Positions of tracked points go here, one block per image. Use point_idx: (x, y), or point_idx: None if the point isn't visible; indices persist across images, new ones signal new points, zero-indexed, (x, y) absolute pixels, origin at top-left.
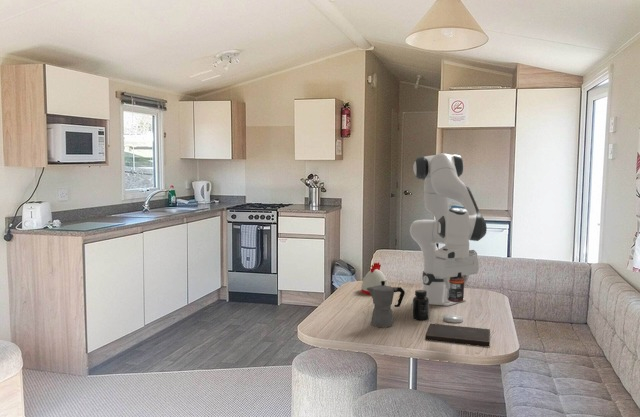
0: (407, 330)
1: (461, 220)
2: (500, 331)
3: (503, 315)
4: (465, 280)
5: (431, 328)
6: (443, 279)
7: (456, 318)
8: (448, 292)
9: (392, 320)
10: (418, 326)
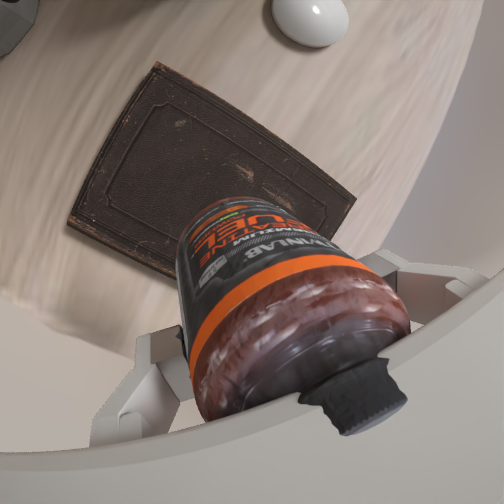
0: (47, 96)
1: None
2: (388, 184)
3: (459, 63)
4: (416, 317)
5: (125, 136)
6: (94, 424)
7: (318, 26)
8: (178, 293)
9: (20, 24)
10: (116, 47)
